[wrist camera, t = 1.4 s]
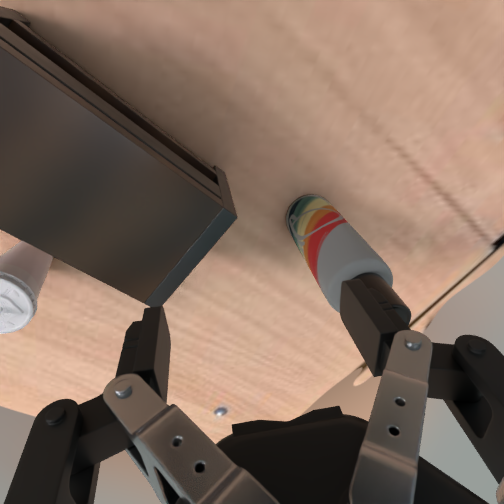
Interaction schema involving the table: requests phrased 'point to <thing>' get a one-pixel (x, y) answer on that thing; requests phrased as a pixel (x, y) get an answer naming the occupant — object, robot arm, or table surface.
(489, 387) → the robot arm
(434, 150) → the table surface
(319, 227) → the lotion bottle
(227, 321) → the table surface
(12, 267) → the smoothie
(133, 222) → the box
